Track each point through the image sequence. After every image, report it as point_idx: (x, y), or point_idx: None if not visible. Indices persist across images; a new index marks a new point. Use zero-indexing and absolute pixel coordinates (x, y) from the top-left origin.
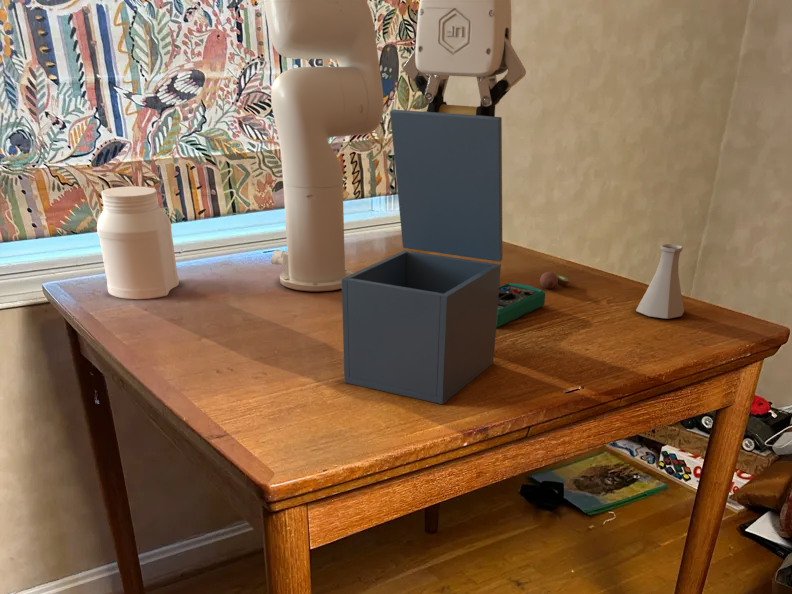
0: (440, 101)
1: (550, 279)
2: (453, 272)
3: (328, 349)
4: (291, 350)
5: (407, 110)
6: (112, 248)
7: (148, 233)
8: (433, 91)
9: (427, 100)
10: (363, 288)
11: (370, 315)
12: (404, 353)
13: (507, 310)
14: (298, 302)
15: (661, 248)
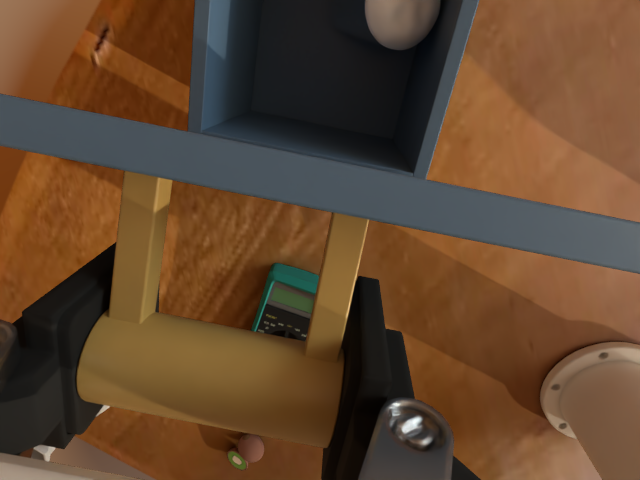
0: (345, 449)
1: (245, 441)
2: (297, 143)
3: (519, 88)
4: (585, 60)
5: (532, 245)
6: None
7: None
8: (383, 452)
9: (425, 420)
10: None
11: None
12: None
13: (263, 292)
14: (617, 293)
15: (45, 450)
